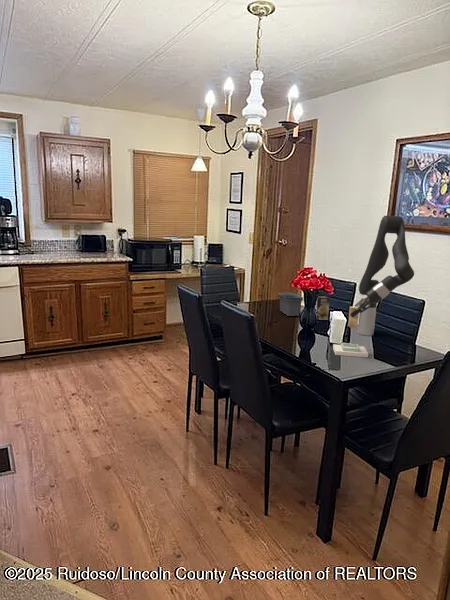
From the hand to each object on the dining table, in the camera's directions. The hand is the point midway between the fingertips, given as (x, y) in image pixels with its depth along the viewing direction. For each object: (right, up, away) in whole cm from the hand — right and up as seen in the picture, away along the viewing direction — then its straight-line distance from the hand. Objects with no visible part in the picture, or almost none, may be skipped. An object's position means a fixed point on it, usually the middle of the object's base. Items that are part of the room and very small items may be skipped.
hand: (350, 314), depth 215 cm
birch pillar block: (+1, -6, +1) cm, 6 cm away
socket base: (+1, -20, +4) cm, 20 cm away
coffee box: (+1, -6, +74) cm, 74 cm away
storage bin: (-17, -3, +87) cm, 88 cm away
